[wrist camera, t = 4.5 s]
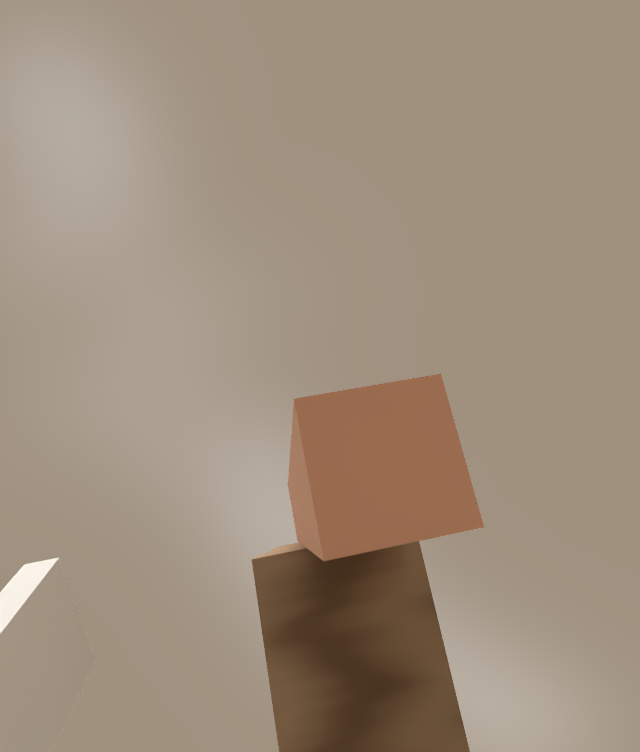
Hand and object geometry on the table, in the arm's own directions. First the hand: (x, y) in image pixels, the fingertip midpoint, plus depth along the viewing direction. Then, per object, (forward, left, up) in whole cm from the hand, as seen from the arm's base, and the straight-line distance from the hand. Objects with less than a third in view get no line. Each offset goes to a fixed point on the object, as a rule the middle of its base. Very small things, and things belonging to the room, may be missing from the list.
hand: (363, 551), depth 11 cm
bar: (0, +13, 0) cm, 13 cm away
